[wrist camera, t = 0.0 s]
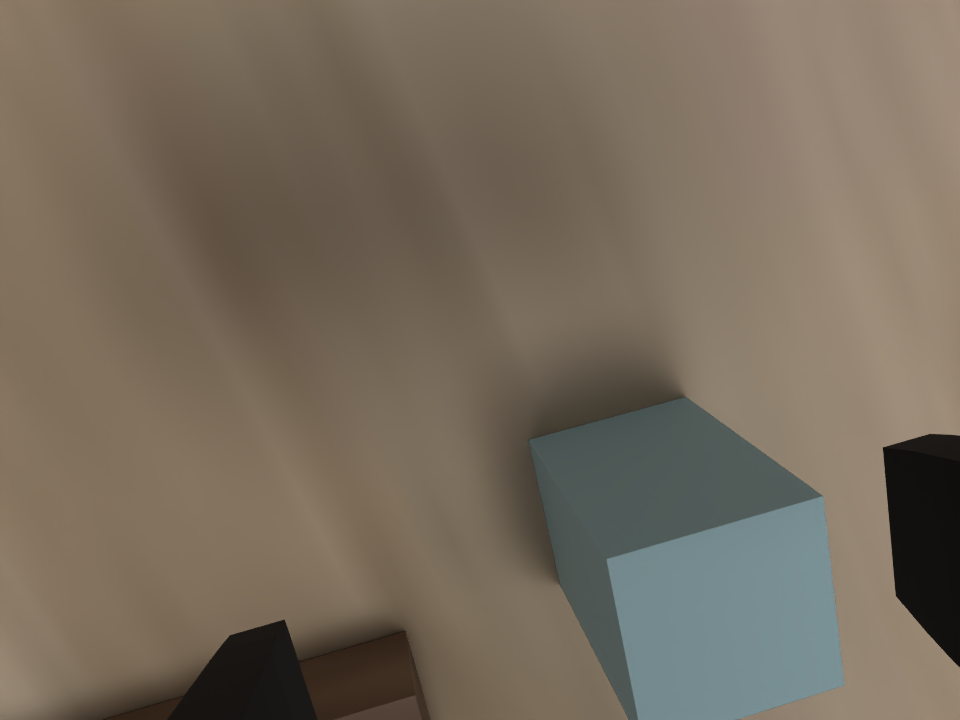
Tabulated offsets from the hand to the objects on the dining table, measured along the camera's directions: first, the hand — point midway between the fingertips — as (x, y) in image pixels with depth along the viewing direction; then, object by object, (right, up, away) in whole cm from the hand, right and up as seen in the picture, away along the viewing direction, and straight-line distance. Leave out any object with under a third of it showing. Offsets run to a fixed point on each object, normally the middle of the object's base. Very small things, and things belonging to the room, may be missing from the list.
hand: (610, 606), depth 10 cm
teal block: (+2, 0, +11) cm, 11 cm away
